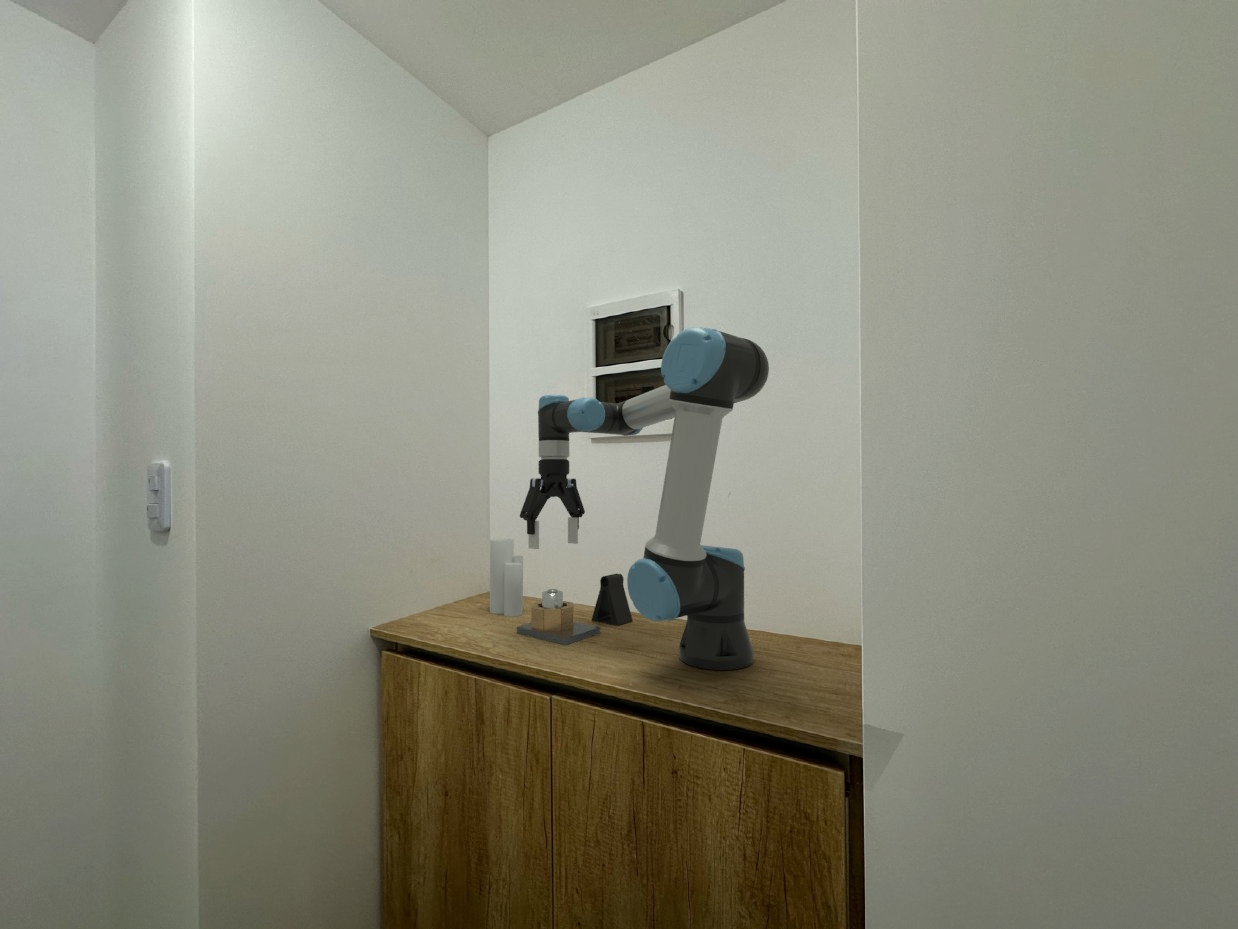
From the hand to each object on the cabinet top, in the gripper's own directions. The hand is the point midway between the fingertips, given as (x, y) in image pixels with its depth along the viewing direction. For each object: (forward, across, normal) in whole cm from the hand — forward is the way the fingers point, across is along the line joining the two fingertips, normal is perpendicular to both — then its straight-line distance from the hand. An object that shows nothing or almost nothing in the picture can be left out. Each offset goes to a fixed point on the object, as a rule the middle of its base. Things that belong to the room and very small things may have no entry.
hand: (554, 546), depth 135 cm
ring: (+19, 0, 0) cm, 19 cm away
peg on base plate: (+21, 0, +2) cm, 21 cm away
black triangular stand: (+21, -17, +5) cm, 27 cm away
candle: (+21, -7, -24) cm, 33 cm away
